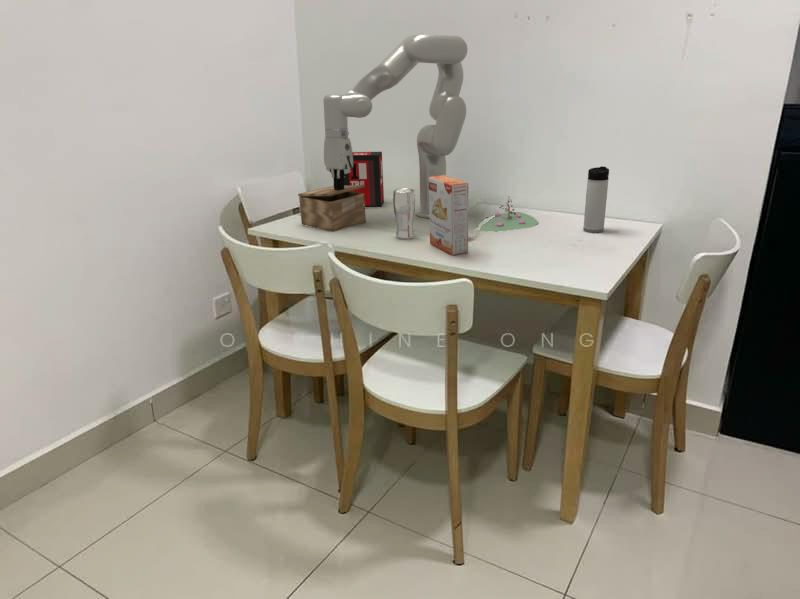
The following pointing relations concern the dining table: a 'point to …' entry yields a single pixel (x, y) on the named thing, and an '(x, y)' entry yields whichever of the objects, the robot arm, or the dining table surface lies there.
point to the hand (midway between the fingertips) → (339, 189)
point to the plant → (509, 221)
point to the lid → (331, 191)
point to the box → (333, 210)
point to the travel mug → (596, 199)
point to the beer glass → (404, 212)
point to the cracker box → (448, 214)
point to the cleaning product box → (367, 177)
